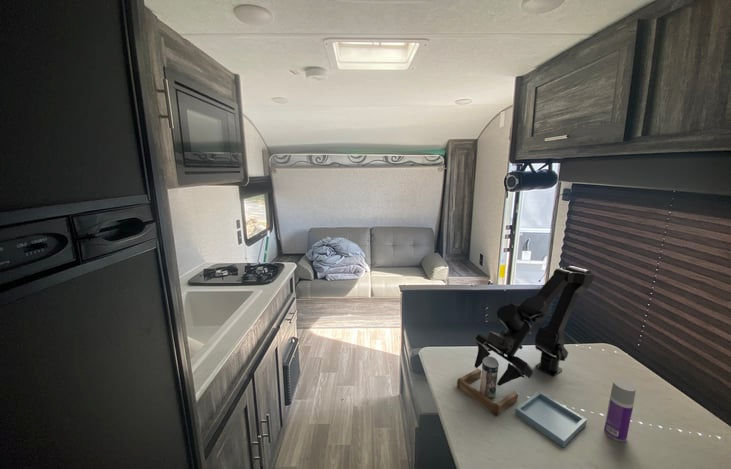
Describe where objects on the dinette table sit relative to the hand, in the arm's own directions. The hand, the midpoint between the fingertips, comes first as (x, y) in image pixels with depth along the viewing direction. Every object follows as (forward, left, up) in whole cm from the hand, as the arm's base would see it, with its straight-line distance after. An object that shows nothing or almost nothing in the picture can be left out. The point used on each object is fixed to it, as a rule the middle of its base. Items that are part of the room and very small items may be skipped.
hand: (486, 375), depth 93 cm
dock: (-1, 0, -7) cm, 7 cm away
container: (-17, +28, -7) cm, 34 cm away
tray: (-7, +16, -7) cm, 19 cm away
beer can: (-1, 0, -7) cm, 7 cm away
